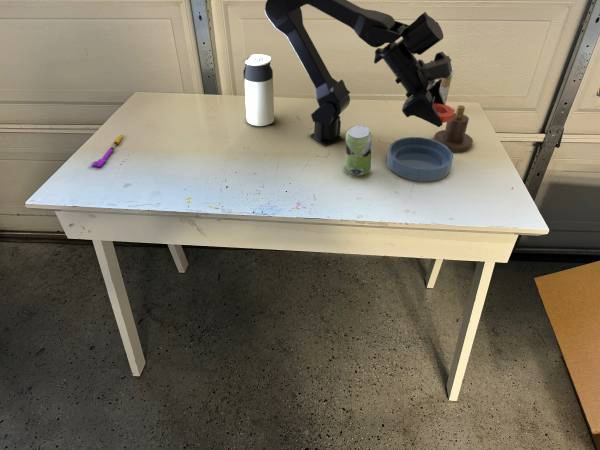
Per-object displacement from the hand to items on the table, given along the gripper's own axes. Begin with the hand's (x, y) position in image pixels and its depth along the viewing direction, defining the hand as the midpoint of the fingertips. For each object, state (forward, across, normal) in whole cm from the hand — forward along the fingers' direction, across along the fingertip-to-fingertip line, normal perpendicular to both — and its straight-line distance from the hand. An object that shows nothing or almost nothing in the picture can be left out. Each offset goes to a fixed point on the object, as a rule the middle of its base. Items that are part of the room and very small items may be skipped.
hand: (443, 119), depth 106 cm
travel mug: (-27, +4, +45) cm, 52 cm away
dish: (+6, -3, +11) cm, 13 cm away
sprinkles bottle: (+6, +30, +11) cm, 33 cm away
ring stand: (+11, +12, +6) cm, 17 cm away
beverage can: (-3, -12, +20) cm, 24 cm away
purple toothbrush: (-47, -28, +65) cm, 85 cm away
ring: (-1, 0, 0) cm, 1 cm away
